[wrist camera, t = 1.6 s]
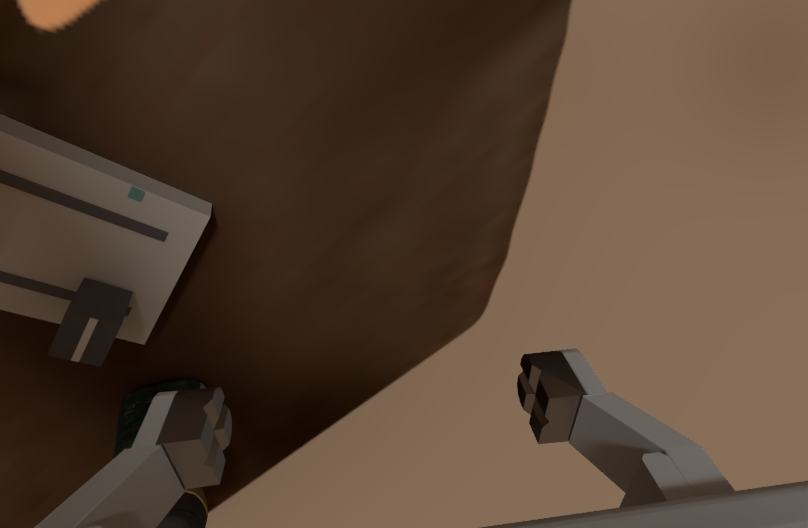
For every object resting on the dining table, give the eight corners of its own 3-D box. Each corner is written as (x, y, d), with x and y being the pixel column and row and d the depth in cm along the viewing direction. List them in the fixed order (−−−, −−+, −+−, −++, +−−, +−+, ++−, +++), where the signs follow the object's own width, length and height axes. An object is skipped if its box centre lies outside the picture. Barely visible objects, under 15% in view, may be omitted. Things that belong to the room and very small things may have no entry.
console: (-176, 240, 35) (-208, 260, 33) (-137, 55, 31) (-171, 62, 28) (149, 326, 47) (144, 345, 45) (212, 203, 43) (210, 217, 40)
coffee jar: (138, 433, 54) (98, 603, 39) (114, 388, 50) (60, 560, 35) (221, 413, 57) (213, 566, 42) (205, 369, 53) (191, 522, 37)
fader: (66, 319, 41) (46, 356, 37) (84, 277, 39) (65, 311, 35) (114, 331, 43) (100, 367, 39) (133, 291, 41) (121, 325, 37)
